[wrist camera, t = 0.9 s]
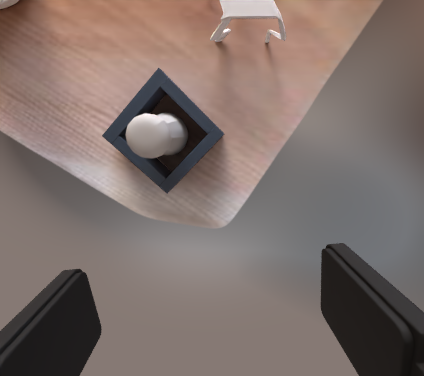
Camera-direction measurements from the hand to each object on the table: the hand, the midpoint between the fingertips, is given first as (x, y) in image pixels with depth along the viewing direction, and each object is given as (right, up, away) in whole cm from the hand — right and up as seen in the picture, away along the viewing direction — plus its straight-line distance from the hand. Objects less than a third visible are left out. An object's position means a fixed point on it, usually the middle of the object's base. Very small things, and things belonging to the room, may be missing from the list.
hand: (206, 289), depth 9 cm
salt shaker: (-6, +12, +25) cm, 28 cm away
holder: (-6, +12, +25) cm, 28 cm away
